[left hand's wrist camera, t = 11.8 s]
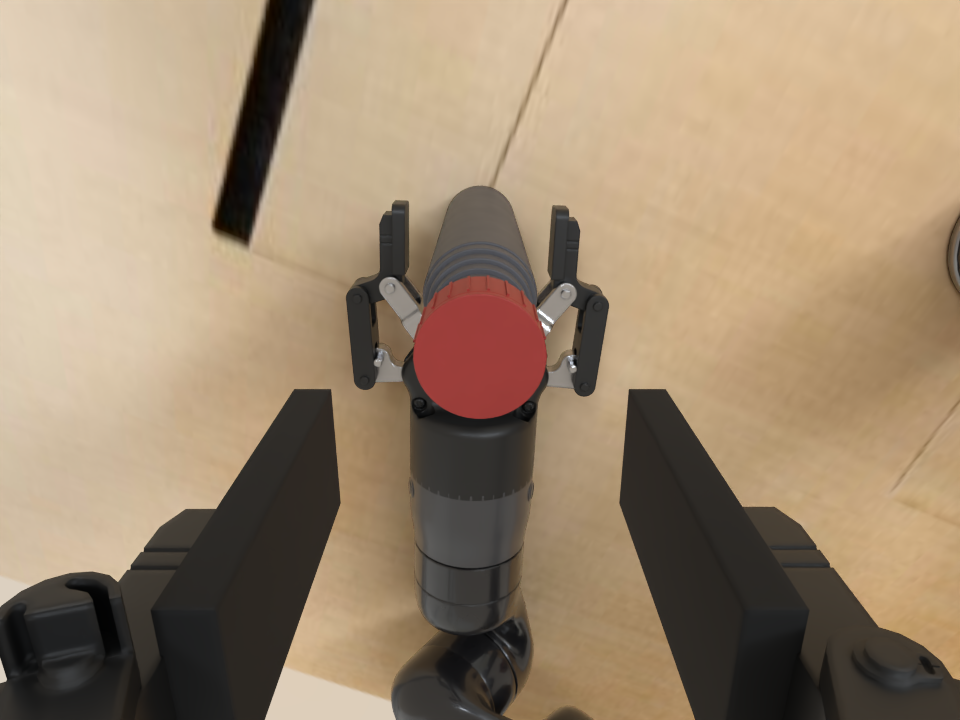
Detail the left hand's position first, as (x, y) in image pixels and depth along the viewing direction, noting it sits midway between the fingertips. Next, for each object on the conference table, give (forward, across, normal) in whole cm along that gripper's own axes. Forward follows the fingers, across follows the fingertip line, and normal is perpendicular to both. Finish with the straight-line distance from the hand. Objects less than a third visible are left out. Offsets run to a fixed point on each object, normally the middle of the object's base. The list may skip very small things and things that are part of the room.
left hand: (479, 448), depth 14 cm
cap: (+6, 0, 0) cm, 6 cm away
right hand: (+24, 0, -2) cm, 24 cm away
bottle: (+30, 0, 0) cm, 30 cm away
